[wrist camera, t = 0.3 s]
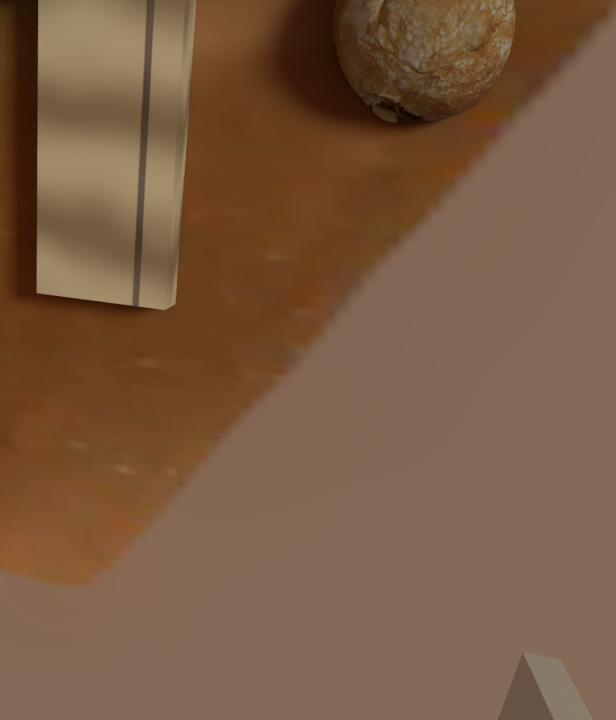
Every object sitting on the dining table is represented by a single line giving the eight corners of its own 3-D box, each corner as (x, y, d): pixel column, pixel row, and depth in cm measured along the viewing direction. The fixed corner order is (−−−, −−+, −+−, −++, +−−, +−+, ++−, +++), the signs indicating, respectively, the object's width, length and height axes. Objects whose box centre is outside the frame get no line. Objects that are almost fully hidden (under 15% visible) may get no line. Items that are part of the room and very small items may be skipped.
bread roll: (326, 96, 37) (321, 135, 31) (343, -105, 30) (342, -107, 24) (474, 109, 37) (499, 151, 31) (523, -89, 30) (568, -86, 24)
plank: (61, -121, 31) (38, -151, 28) (203, -101, 31) (193, -129, 28) (55, 288, 37) (35, 293, 34) (175, 303, 37) (164, 310, 34)
